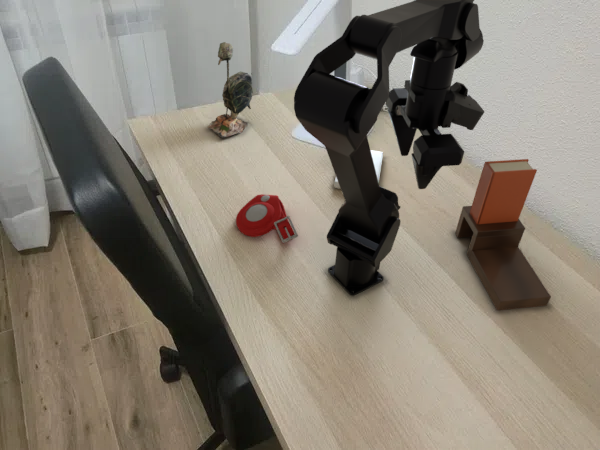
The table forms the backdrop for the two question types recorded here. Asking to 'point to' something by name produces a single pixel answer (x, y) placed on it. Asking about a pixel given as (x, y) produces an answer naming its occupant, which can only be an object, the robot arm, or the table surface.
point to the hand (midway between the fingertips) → (412, 171)
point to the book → (502, 191)
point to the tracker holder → (265, 218)
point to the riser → (502, 263)
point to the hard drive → (377, 162)
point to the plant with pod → (232, 97)
